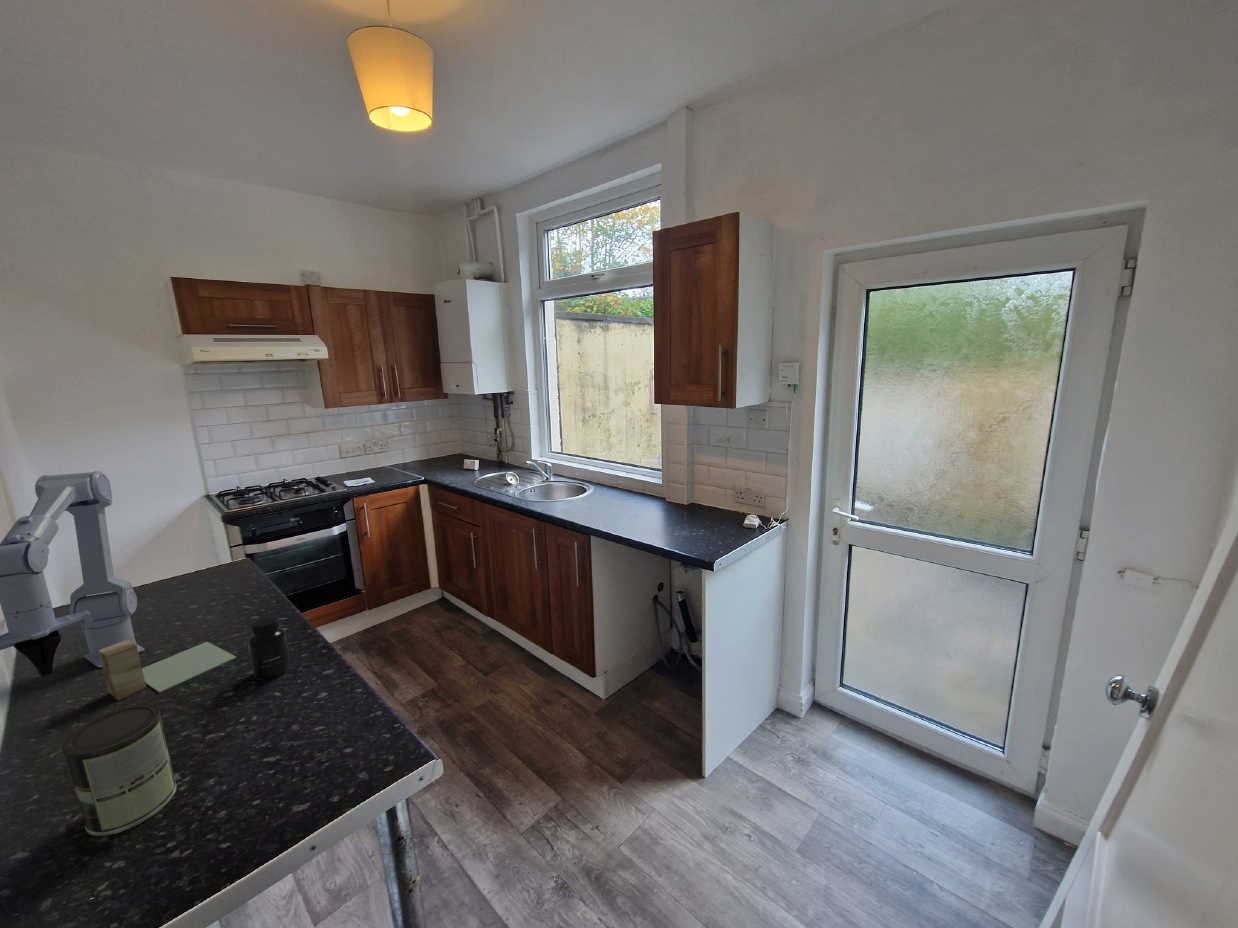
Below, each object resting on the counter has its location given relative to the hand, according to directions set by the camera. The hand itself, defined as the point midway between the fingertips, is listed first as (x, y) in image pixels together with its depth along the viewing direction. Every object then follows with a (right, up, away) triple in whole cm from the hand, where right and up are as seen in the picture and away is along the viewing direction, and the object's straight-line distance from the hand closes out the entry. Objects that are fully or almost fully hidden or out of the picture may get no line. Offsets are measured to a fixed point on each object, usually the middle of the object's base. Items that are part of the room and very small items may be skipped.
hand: (45, 673), depth 93 cm
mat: (+10, -6, +19) cm, 22 cm away
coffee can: (+33, -14, -17) cm, 39 cm away
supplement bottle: (+31, -7, +17) cm, 36 cm away
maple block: (+5, -8, +11) cm, 14 cm away
